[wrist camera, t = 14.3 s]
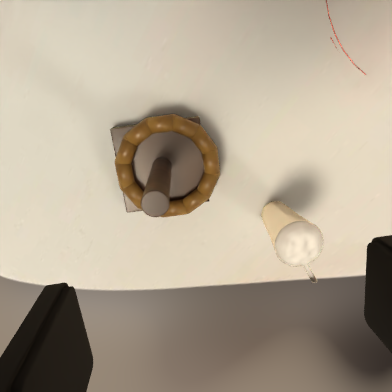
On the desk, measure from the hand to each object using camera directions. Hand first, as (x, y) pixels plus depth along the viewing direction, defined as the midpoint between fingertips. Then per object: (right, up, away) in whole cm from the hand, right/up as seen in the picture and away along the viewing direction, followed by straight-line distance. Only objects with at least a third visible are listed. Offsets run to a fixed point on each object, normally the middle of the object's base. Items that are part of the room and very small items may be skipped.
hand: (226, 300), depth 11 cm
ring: (-4, +6, +24) cm, 25 cm away
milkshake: (+8, +1, +29) cm, 30 cm away
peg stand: (-5, +7, +26) cm, 27 cm away
